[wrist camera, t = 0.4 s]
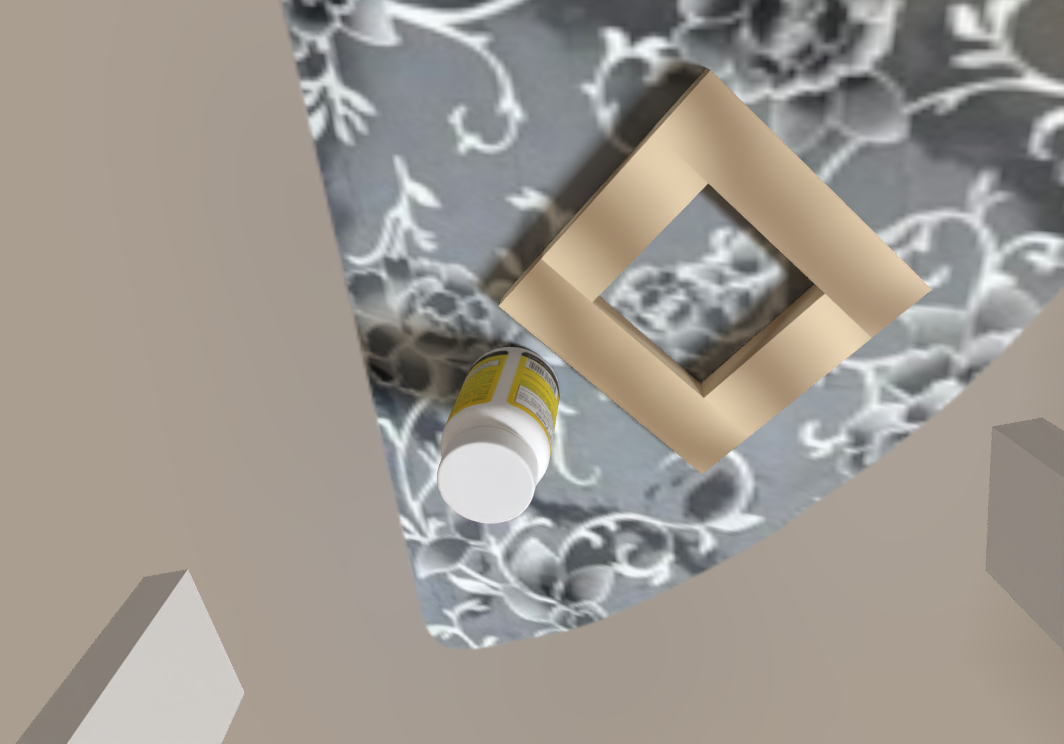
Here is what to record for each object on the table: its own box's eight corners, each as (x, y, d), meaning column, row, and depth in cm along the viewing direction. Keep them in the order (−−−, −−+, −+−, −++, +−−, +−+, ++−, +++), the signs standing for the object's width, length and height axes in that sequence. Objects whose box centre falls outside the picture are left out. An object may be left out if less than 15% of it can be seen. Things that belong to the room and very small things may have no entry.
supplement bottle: (463, 419, 37) (422, 520, 30) (471, 337, 35) (428, 424, 28) (554, 434, 37) (535, 540, 29) (567, 352, 35) (551, 444, 27)
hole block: (706, 67, 28) (710, 70, 27) (919, 277, 31) (931, 289, 30) (503, 294, 34) (498, 306, 32) (699, 457, 36) (702, 474, 35)
